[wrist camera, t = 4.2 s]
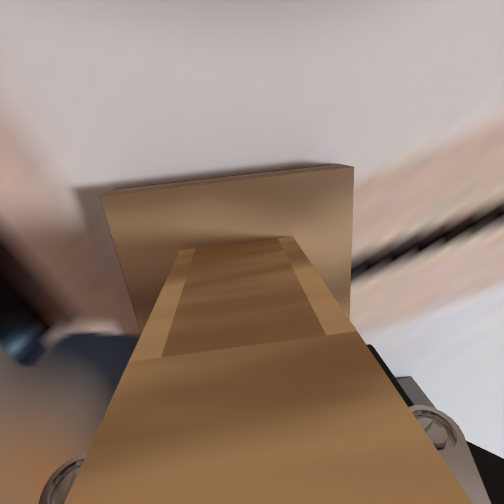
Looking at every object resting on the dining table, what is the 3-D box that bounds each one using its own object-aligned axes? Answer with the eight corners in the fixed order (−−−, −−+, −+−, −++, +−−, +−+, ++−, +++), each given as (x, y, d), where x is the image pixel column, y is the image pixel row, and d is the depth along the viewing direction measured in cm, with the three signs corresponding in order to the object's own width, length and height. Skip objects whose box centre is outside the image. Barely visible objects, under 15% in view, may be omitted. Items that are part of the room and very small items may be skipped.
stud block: (115, 189, 15) (-41, 254, 6) (338, 164, 15) (481, 192, 7) (164, 365, 19) (112, 546, 11) (336, 342, 20) (421, 498, 11)
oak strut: (179, 250, 14) (-93, 846, 2) (292, 236, 14) (616, 716, 2) (199, 342, 16) (115, 902, 4) (297, 329, 17) (480, 829, 5)
